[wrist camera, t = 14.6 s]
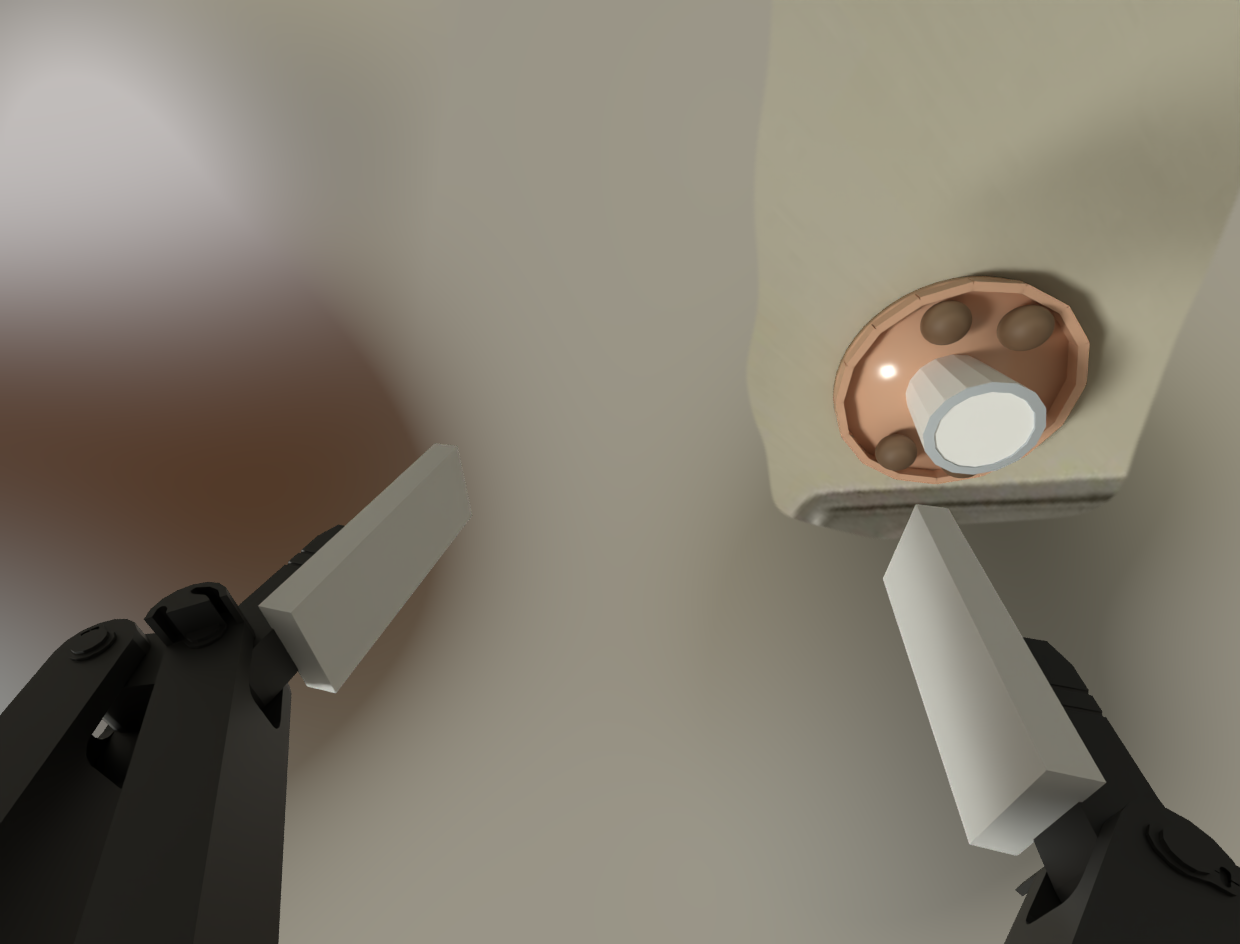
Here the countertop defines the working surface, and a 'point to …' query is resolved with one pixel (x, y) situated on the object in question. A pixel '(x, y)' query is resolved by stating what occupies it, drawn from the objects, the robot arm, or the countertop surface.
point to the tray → (899, 350)
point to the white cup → (973, 415)
